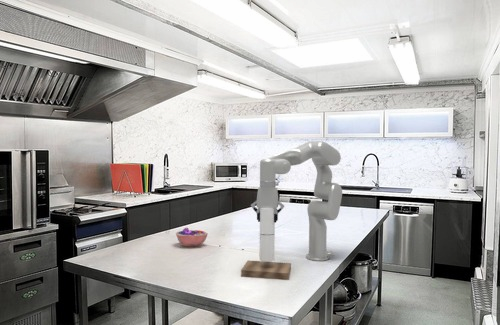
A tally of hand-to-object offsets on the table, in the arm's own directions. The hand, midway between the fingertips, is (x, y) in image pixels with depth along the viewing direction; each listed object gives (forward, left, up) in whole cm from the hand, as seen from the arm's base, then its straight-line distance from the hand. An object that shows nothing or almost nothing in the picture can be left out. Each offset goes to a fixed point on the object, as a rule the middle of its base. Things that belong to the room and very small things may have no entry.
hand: (267, 221), depth 171 cm
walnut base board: (0, 0, -25) cm, 25 cm away
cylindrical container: (0, 0, -18) cm, 18 cm away
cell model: (+53, -41, -25) cm, 72 cm away
